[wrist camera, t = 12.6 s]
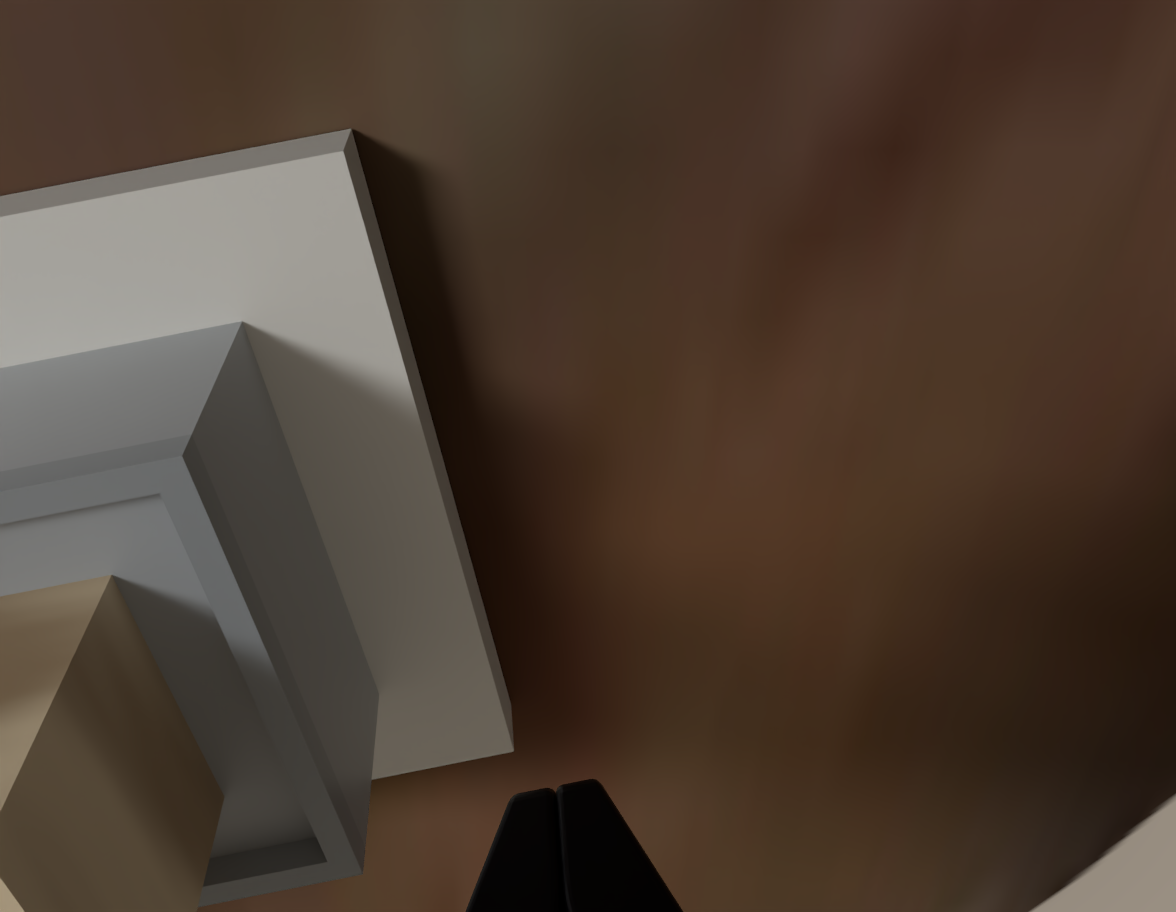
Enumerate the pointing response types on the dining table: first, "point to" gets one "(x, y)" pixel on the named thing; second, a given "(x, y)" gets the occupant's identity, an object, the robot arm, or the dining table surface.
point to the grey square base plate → (247, 484)
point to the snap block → (95, 762)
